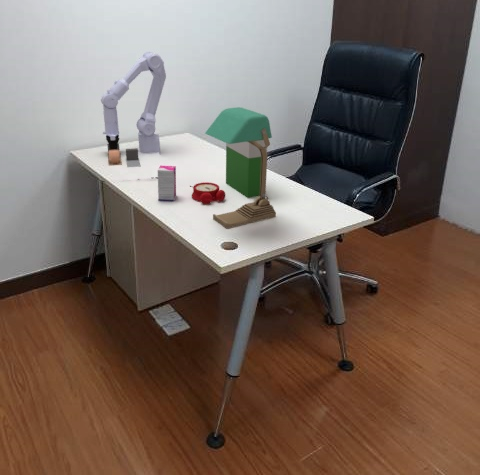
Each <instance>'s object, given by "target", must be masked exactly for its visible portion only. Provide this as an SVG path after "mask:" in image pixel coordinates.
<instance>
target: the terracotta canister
mask: <svg viewBox="0 0 480 475" xmlns="http://www.w3.org/2000/svg"><path fill="white" fill-rule="evenodd" d="M120 155H121V153H120V152H119V150H109V160H110V163H111V164H118V163H120Z"/></svg>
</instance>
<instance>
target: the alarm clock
mask: <svg viewBox="0 0 480 475" xmlns="http://www.w3.org/2000/svg"><path fill="white" fill-rule="evenodd" d="M189 187H191V188H192V194H191V199H192V200H193V201H196V202H200V203H201V204H203V205H209V204H211V203H212V202H219V203H221V202H223V201H224V200H225V198H226V192H225V191H224V190H223V189H220V186H219V185H218V184H216V183H214V182H199V183H195V184H194V185H193V186H192V185H189Z"/></svg>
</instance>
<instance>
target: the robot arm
mask: <svg viewBox="0 0 480 475" xmlns="http://www.w3.org/2000/svg"><path fill="white" fill-rule="evenodd" d="M164 64H165V62H164V60H163V59H162V57H161V56H160V55H159V54H157V53H154V52H151V51H146V52H144V54H143V55H142V56H141V57H140V58H139V59H138V60H137V61H136V62H135V64H134V65H133V66H132V67H131V68H130V70H129V71H128V72H127V73H126V74H125V76H124V77H123V78H121V79H119V78H118V79H117V80H114V81H113V85H112V86H111V87H110V88H109V89H107V90H106V92H105V93H103V94H102V96H101V99H100V102H101V104H102V107H103V108H102V109H103V120H104V121H103V122H104V131H102V135H105V140H106V142H107V144H109V146H110V150H117V145H118V143H119V141H120V135H119V134H120V129H119V118H118V110H117V109H118V108H117V107H118V104H119V101H120V100H121V99H122V98H123V96H124V95H125V94H126V93H127V92H128V90H130V85H131V83H132V82H133V81H134V80H135V79H137V77H138V76H139V75H140V74H141V73H142V72H148V71H149V72H150V74H151V76H152V81H151V84H150V88H149V92H148V95H147V98H146V103H145V106H144V109H143V112H142V113H141V114H140V117H139V118H138V120H137V122H136V128H137V129H138V134H137V136H138V137H137V138H138V152H140V153H143V154H153V153H158V154H159V155H161V146H160V145H161V144H160V135H159V134H157V133H155V132H156V122H157V121H156V114H157V110H158V106H159V103H160V99H161V97H162V92H163V89H164V87H165V86H164V85H165V82H166V79H167V74H166V73H167V72H166V70H165V65H164Z"/></svg>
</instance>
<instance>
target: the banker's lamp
mask: <svg viewBox="0 0 480 475" xmlns="http://www.w3.org/2000/svg"><path fill="white" fill-rule="evenodd" d="M270 124H271V123H270V120H269V118H268V116H267V115H266V114H262V113H260V112H256V111H254V110H251V109H247V108H244V107H228V108H225V109H223V110H222V111H220V113H219V114H218V115H217V116H216V118H215V119H214V121H213V122H212V123H211V125H210V126H209V127H208V128H207V130H206V131H205V132H204V134H206V135H208V136H210V137H212V138H214V139H217V140H219V141H221V142H223V143H228V144H233V143H240V142H249V143H250V144H252V145H254V146H256V147H257V148H258V149H259V150H260V153H261V177H260V196H257V197H256V198H255V199H254V201H253V202H247V203H244V204H242V206H240V207H238V208H237V209H235V210H234V211H230V212H225V213H221V214H212V220H213V221H215V222H216V223H217V224H219V225H221V226H222V227H224V228H225V229H231V228H236V227H238V226H239V227H240V226H242V225H247V224H251V223H256V222H259V221H264V220H266V219H271V218H275V217H276V216H277V212H276V210H275V208H274V206H273V205H272V204H271V203H270V201H269V198H268V196H266V189H267V173H268V172H267V171H268V168H267V167H268V151H267V152H266V148H267V149H268V147H269V146H270V145H271V143H270V139H271V138H273V136H272V129H271V125H270ZM261 139H264V143H265V146H264V147H263V146H262V145H260V144H259V143H257V142H256V141H254V140H261Z"/></svg>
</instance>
